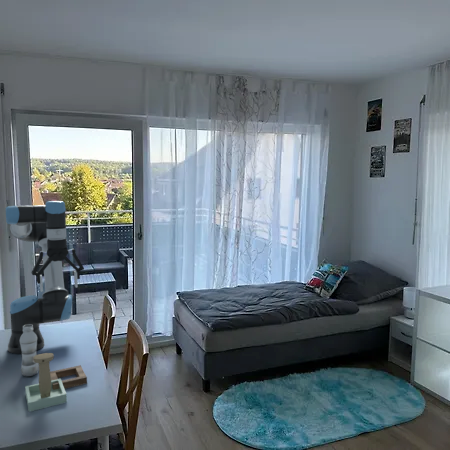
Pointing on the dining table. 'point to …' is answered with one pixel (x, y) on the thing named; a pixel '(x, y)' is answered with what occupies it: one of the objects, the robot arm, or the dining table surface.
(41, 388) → the handle
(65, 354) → the dining table surface
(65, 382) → the brown wooden frame
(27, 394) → the tray
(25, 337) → the plastic bottle
